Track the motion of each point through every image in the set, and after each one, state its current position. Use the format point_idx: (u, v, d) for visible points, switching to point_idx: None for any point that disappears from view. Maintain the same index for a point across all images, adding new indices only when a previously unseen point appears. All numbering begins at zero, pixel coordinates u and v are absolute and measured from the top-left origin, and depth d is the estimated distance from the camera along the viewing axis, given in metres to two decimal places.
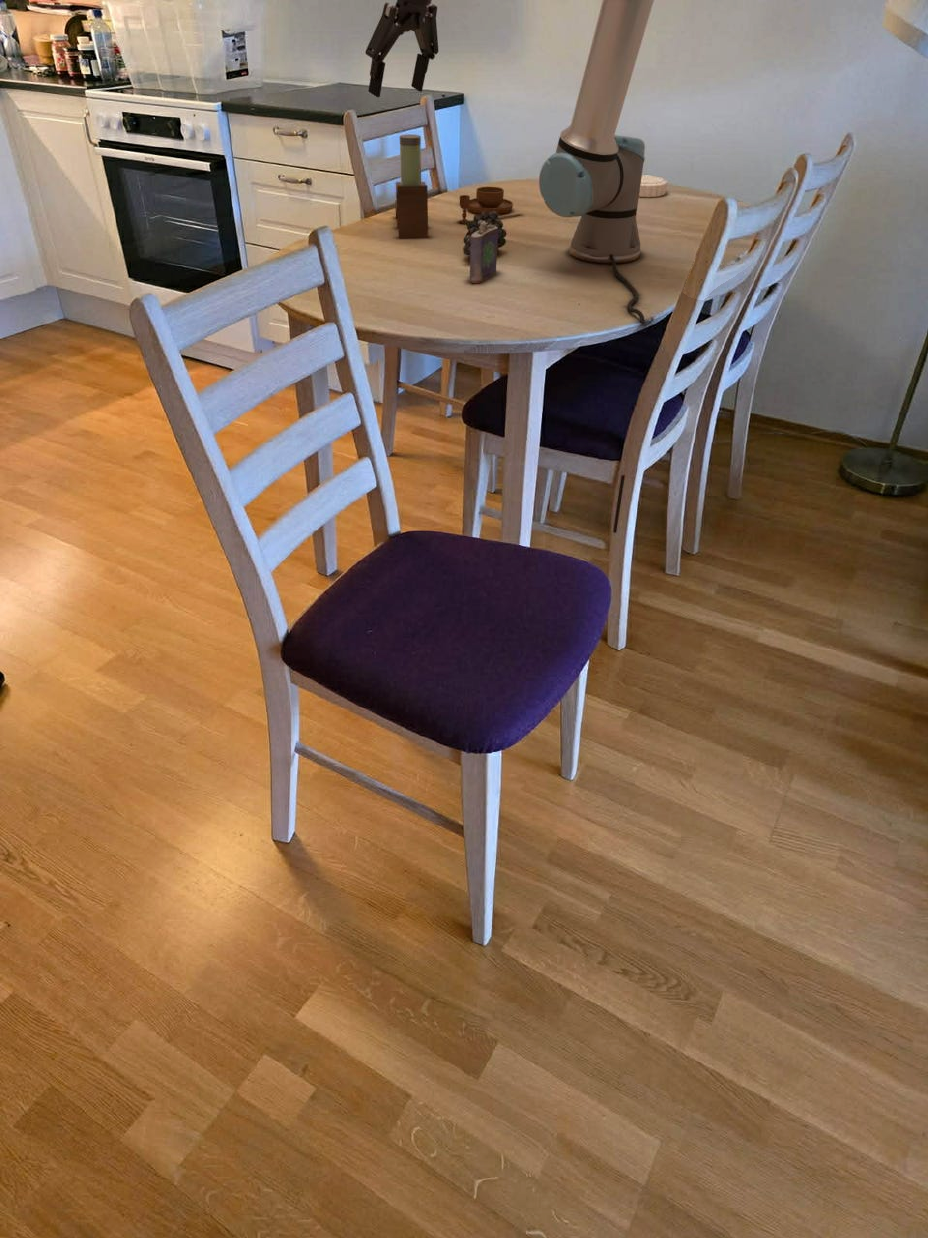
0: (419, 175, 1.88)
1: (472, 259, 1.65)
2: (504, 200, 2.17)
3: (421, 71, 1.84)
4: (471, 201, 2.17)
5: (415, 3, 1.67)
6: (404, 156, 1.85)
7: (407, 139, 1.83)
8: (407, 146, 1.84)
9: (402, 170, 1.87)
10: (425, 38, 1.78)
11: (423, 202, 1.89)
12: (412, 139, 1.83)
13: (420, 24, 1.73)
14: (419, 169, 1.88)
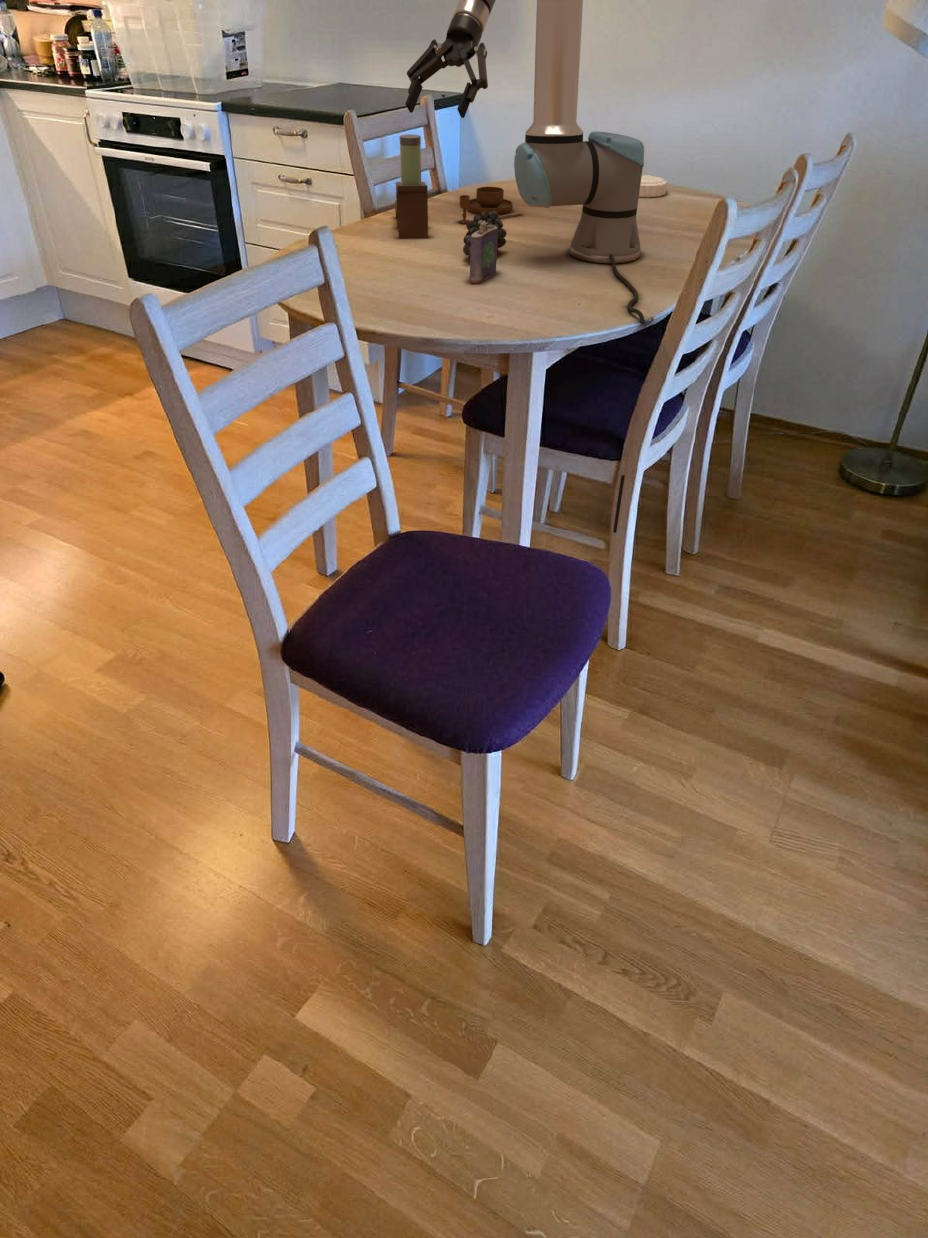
0: (419, 175, 1.88)
1: (472, 259, 1.65)
2: (504, 200, 2.17)
3: None
4: (471, 201, 2.17)
5: (448, 29, 1.88)
6: (404, 156, 1.85)
7: (407, 139, 1.83)
8: (407, 146, 1.84)
9: (402, 170, 1.87)
10: (467, 65, 1.87)
11: (423, 202, 1.89)
12: (412, 139, 1.83)
13: (459, 51, 1.88)
14: (419, 169, 1.88)
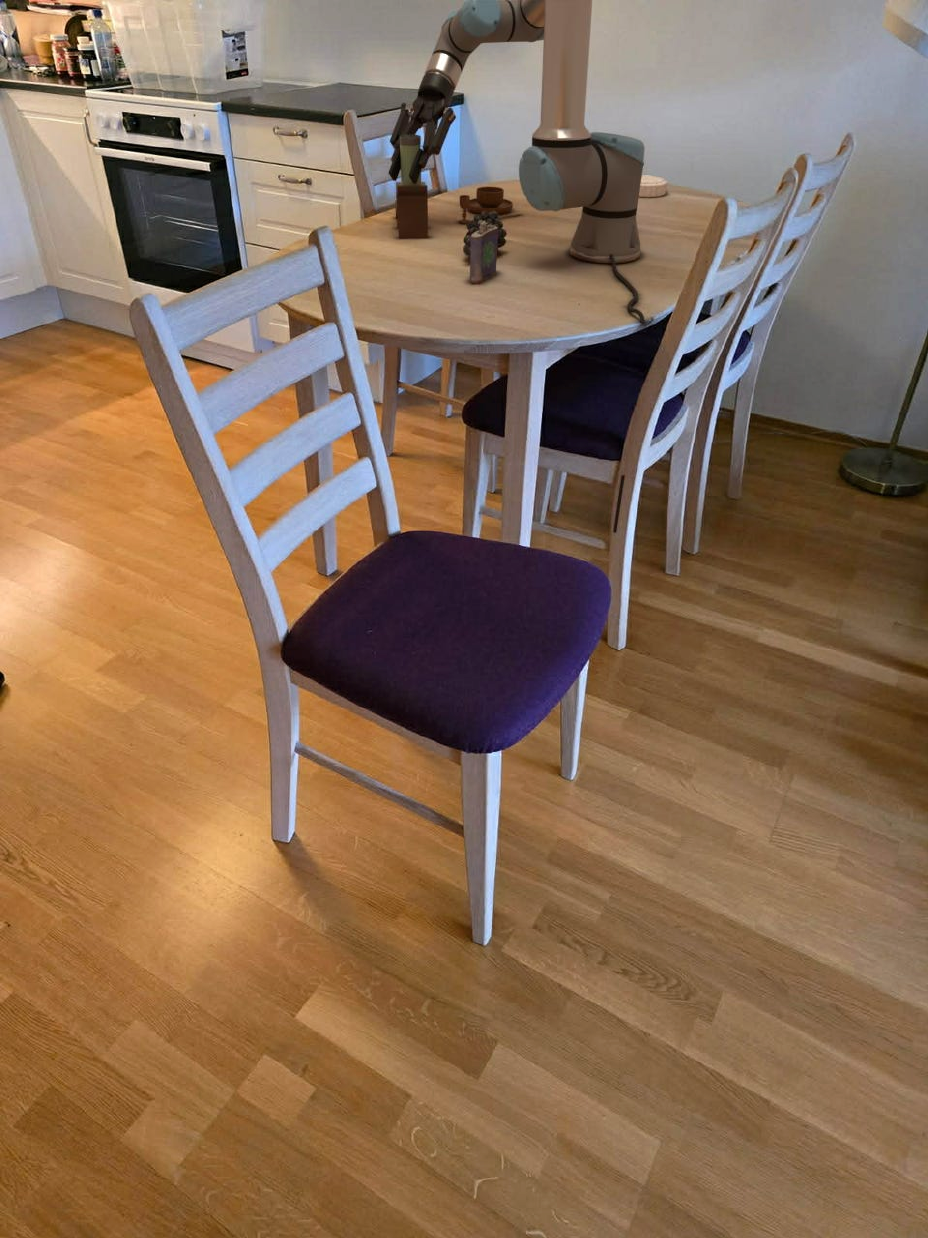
0: (419, 175, 1.88)
1: (472, 259, 1.65)
2: (504, 200, 2.17)
3: None
4: (471, 201, 2.17)
5: (419, 87, 1.86)
6: (404, 156, 1.85)
7: (407, 139, 1.83)
8: (407, 146, 1.84)
9: (402, 170, 1.87)
10: (427, 128, 1.85)
11: (423, 202, 1.89)
12: (412, 139, 1.83)
13: (428, 110, 1.85)
14: None
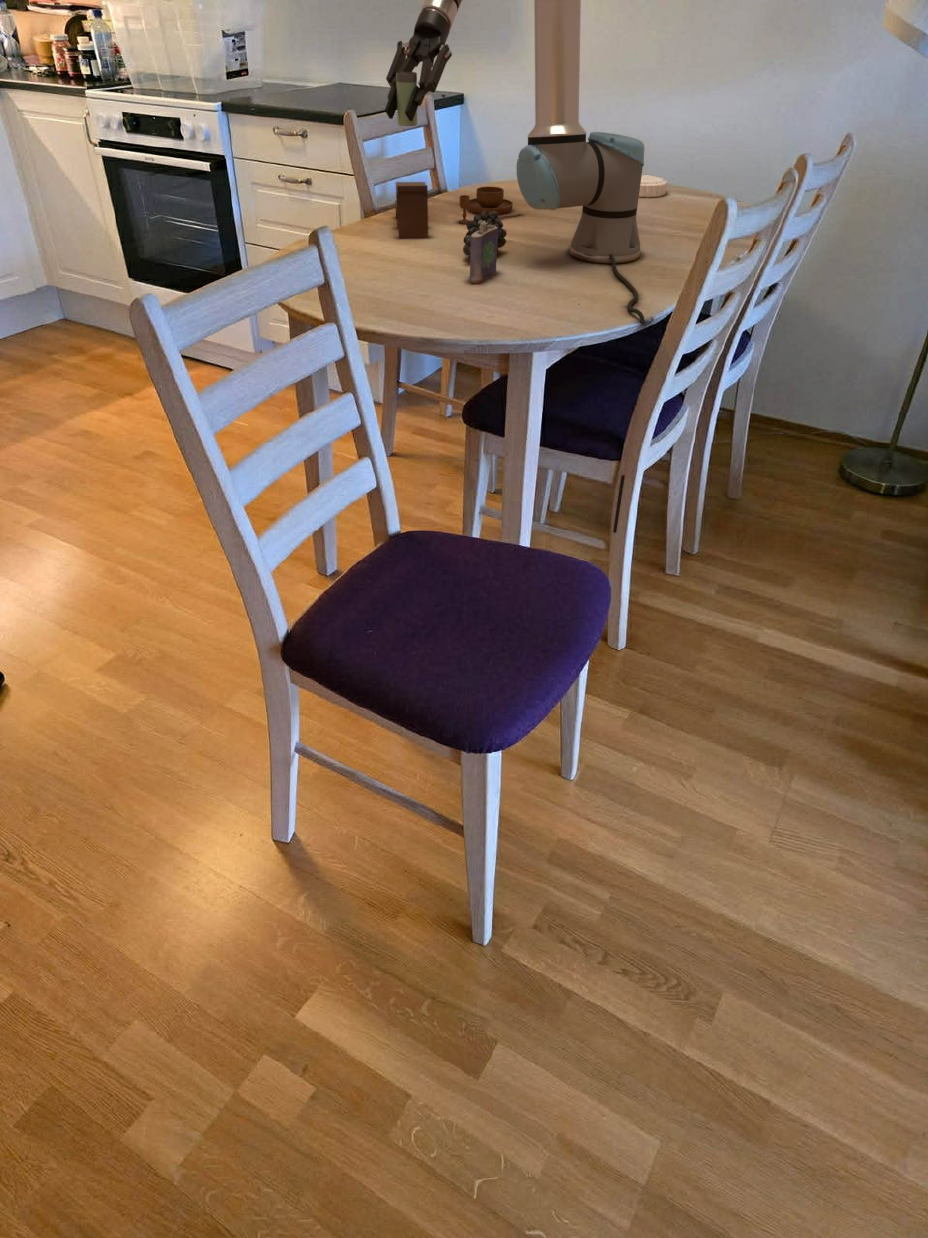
0: (415, 113, 1.89)
1: (472, 259, 1.65)
2: (504, 200, 2.17)
3: None
4: (471, 201, 2.17)
5: (415, 24, 1.87)
6: (401, 93, 1.86)
7: (403, 75, 1.84)
8: (403, 83, 1.85)
9: (398, 107, 1.89)
10: (424, 65, 1.86)
11: (423, 202, 1.89)
12: (408, 75, 1.84)
13: (424, 47, 1.86)
14: None
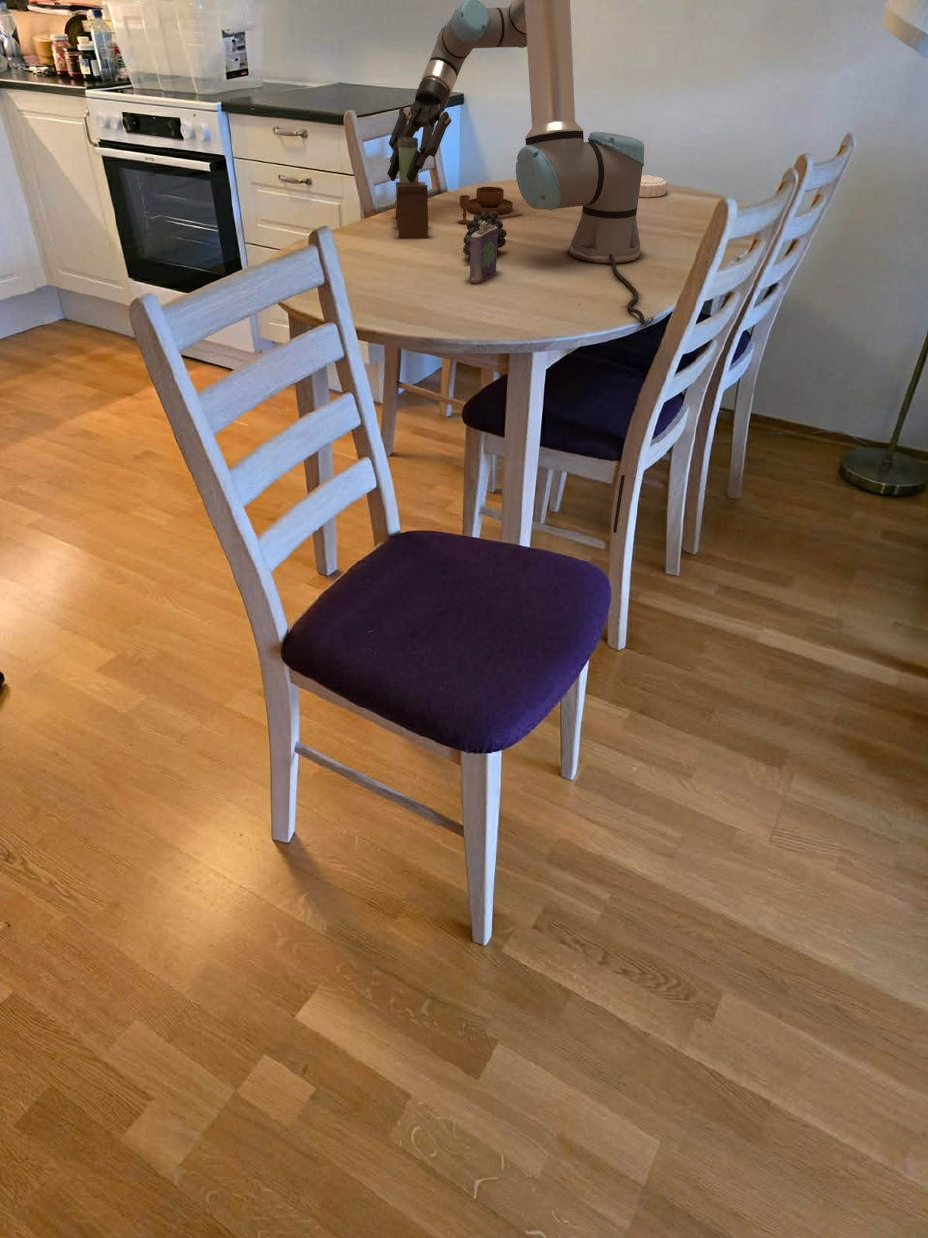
0: None
1: (472, 259, 1.65)
2: (504, 200, 2.17)
3: None
4: (471, 201, 2.17)
5: (417, 92, 1.96)
6: (402, 158, 1.96)
7: (405, 141, 1.93)
8: (405, 148, 1.94)
9: (400, 171, 1.98)
10: (424, 131, 1.95)
11: (423, 202, 1.89)
12: (410, 141, 1.93)
13: (424, 114, 1.96)
14: None
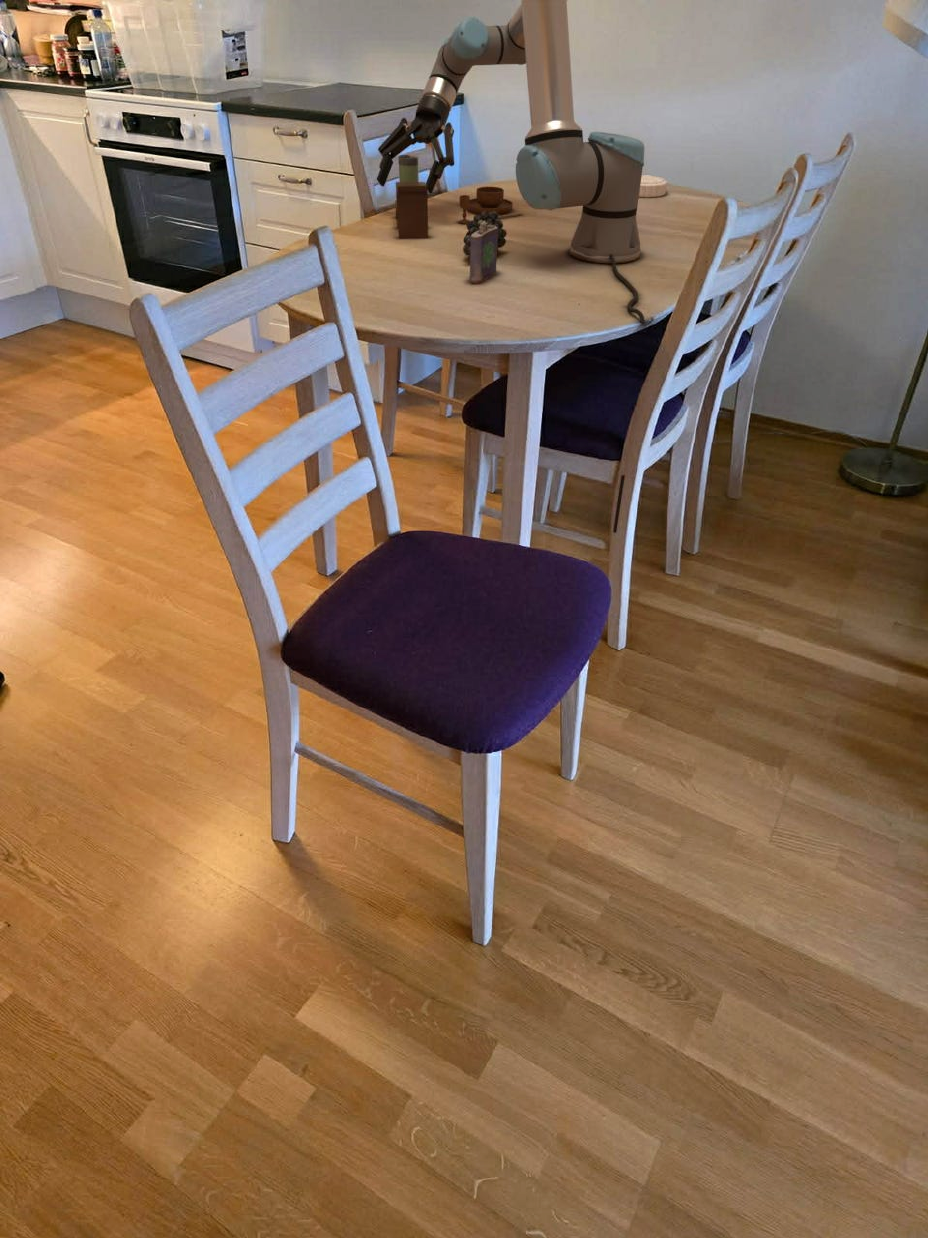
0: None
1: (472, 259, 1.65)
2: (504, 200, 2.17)
3: None
4: (471, 201, 2.17)
5: (417, 109, 1.98)
6: (403, 175, 1.98)
7: (405, 159, 1.96)
8: (405, 166, 1.96)
9: None
10: (435, 144, 1.97)
11: (423, 202, 1.89)
12: (410, 159, 1.96)
13: (427, 130, 1.97)
14: None
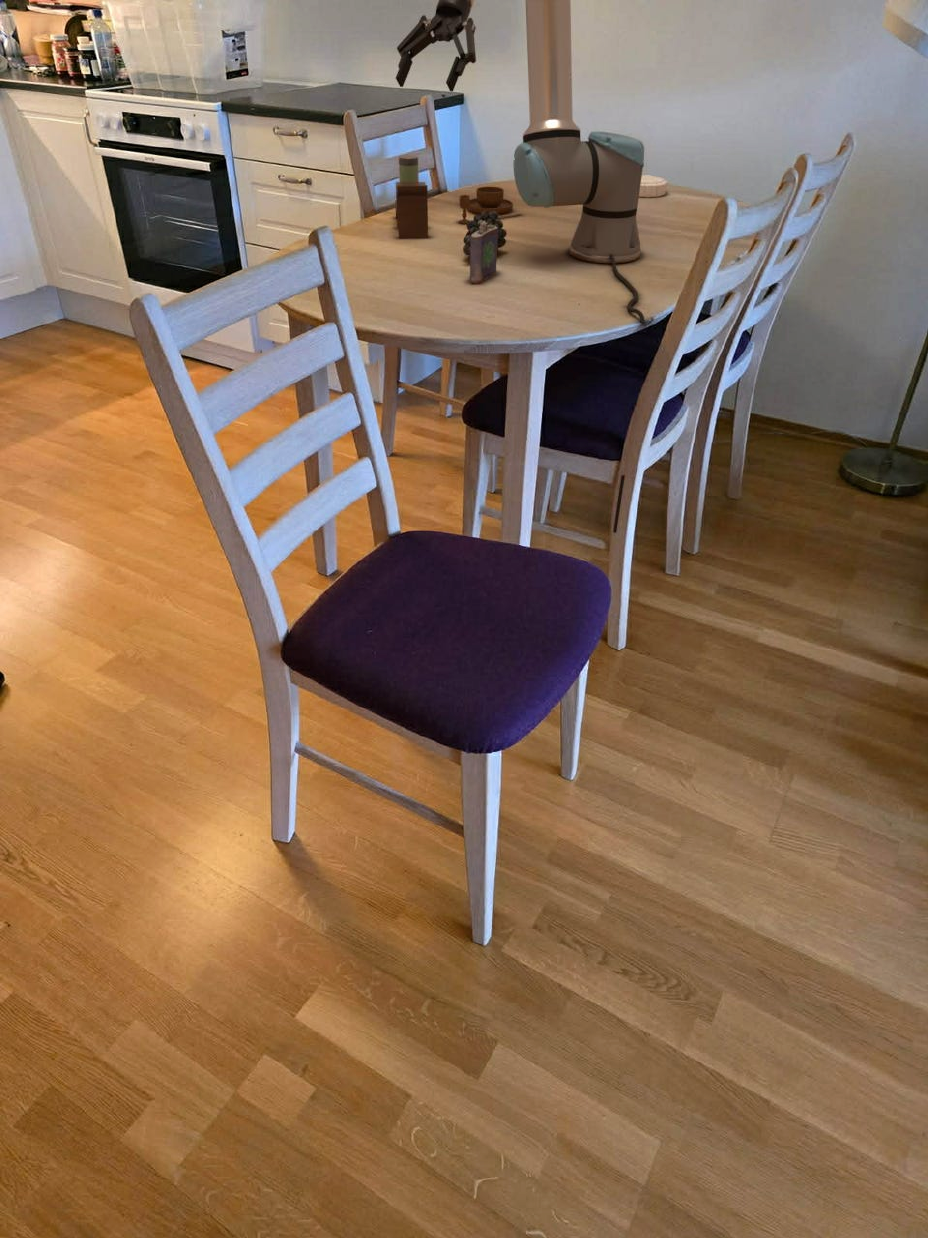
0: None
1: (472, 259, 1.65)
2: (504, 200, 2.17)
3: None
4: (471, 201, 2.17)
5: (437, 4, 1.93)
6: (403, 175, 1.98)
7: (405, 159, 1.96)
8: (405, 166, 1.96)
9: None
10: (456, 40, 1.91)
11: (423, 202, 1.89)
12: (410, 159, 1.96)
13: (448, 26, 1.92)
14: None
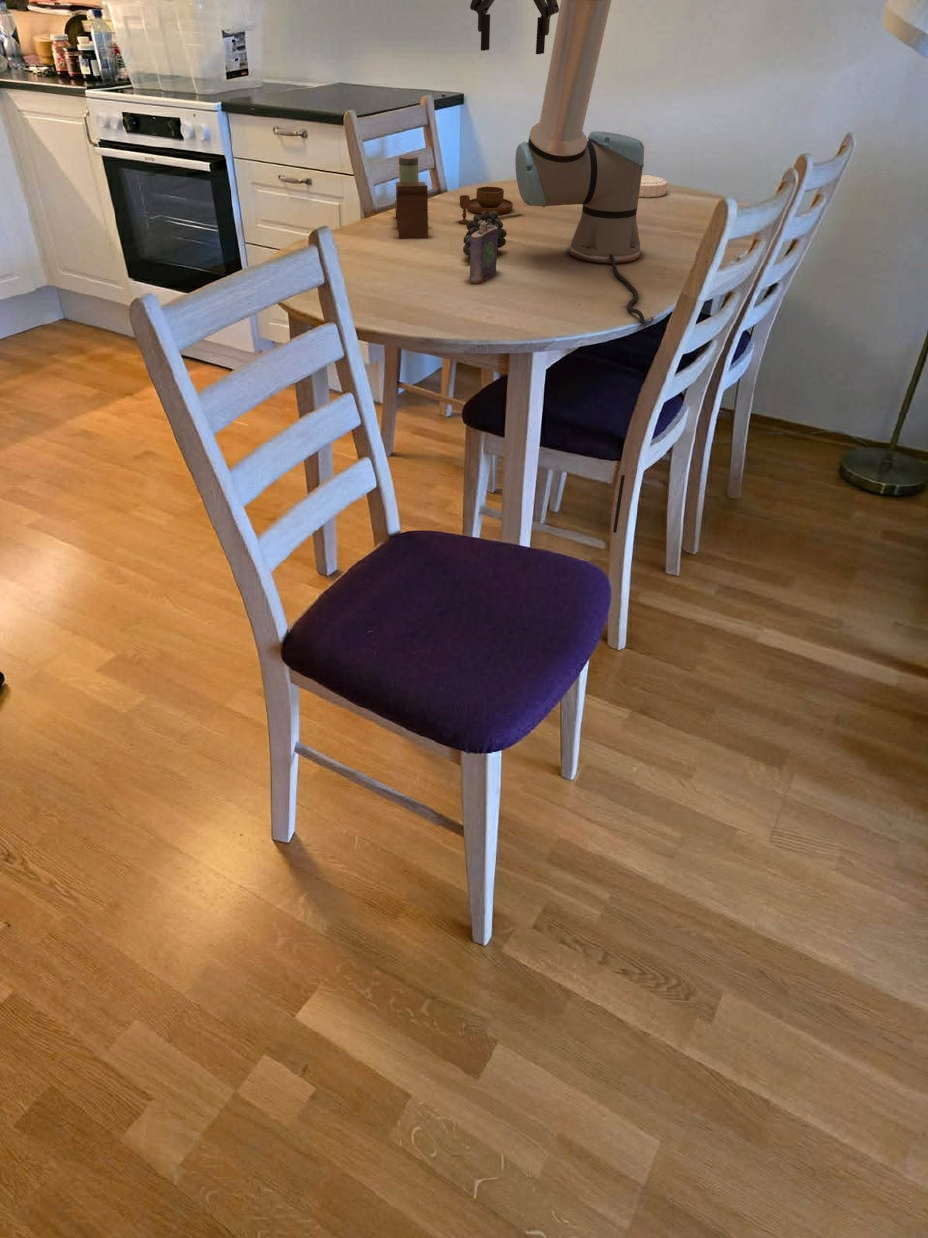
0: None
1: (472, 259, 1.65)
2: (504, 200, 2.17)
3: None
4: (471, 201, 2.17)
5: None
6: (403, 175, 1.98)
7: (405, 159, 1.96)
8: (405, 166, 1.96)
9: None
10: None
11: (423, 202, 1.89)
12: (410, 159, 1.96)
13: None
14: None
